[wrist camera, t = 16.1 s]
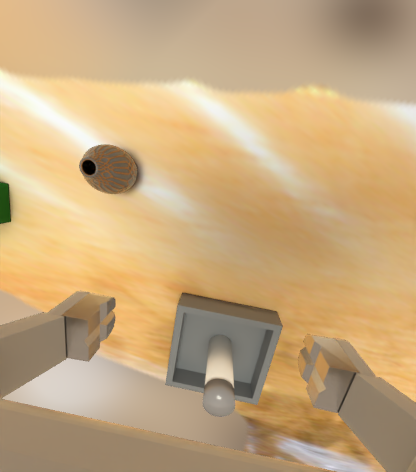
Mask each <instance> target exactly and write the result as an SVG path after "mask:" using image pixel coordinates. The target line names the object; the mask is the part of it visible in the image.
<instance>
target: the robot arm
mask: <svg viewBox="0 0 416 472" xmlns="http://www.w3.org/2000/svg"><path fill="white" fill-rule="evenodd" d="M114 307H115V299H114V297H109V296H104V295H100V294H95V293H90V292H85V291H77V292H76V293H74V294H73V295H71V296H70V297H69V298H67V299H66V300H64V301H63V302H62V303H60V304H59V305H57V306H56V307H55V308H53V309H52V310H50V311H49V312H48V313H44V312H42V313H39V314H36V315H33V316H30V317H26V318H23V319H20V320H16V321H14V322H10V323H7V324H3V325H0V472H336V471H331V470H327V469H322V468H318V467H313V466H308V465H304V464H299V463H294V462H290V461H285V460H280V459H276V458H271V457H267V456H262V455H257V454H253V453H248V452H243V451H239V450H233V449H229V448H225V447H220V446H216V445H211V444H206V443H202V442H197V441H193V440H188V439H184V438H179V437H174V436H170V435H165V434H160V433H156V432H152V431H147V430H142V429H138V428H133V427H128V426H124V425H119V424H115V423H110V422H106V421H101V420H96V419H92V418H87V417H83V416H78V415H74V414H69V413H64V412H60V411H55V410H50V409H46V408H41V407H37V406H32V405H28V404H23V403H18V402H13V401H9V400H4V399H2V398H3V397H4V396H6V395H8V394H9V393H11V392H13V391H14V390H16V389H17V388H19V387H21V386H22V385H24V384H26V383H27V382H29V381H31V380H32V379H34V378H36V377H37V376H39V375H41V374H42V373H44V372H46V371H47V370H49V369H51V368H52V367H54V366H56V365H57V364H59V363H61V362H62V361H64V360H66V358H71V359H77V360H83V361H89V360H90V359H91V358H92V356H93V355H94V354H95V353H96V351H97V350H98V349H99V348H100V342H101V341H103V340H105V339H107V337H108V336H109V334H110V333H111V331H112V329H113V327H114V323H115V314H114V313H113V311H112V310H113V309H114ZM303 342H304V345H305V348H303V349H302V350H301V351H300V353H299V357H298V366H299V371H300V374H301V377H302V378H303V379H304V380H305V381H306V382H307V383H308V385H307V388H306V390H307V392H308V395H309V397H310V400H311V402H312V405H313V407H314V408H318V409H323V410H327V411H331V412H335V413H339V414H338V415H339V416H340V417H341V418H342V420H343V421H344V422H345V423H346V424H347V426H348V427H349V428H350V429H351V430H352V431H353V433H354V434H355V435H356V436H357V437H358V438H359V440H360V441H361V442H362V443H363V444H364V445H365V447H366V448H367V449H368V450H369V451H370V453H371V454H372V455H373V456H374V457H375V458H376V460H377V461H378V462H379V463H380V464H381V465H382V467H383V468H384V469H385V470H386V471H387V472H416V403H415V402H414V401H413V400H411V399H410V398H408V397H407V396H406V395H404V394H403V393H401V392H400V391H399V390H397V389H396V388H394V387H393V386H392V385H390V384H389V383H387V382H386V381H385V380H383V379H382V378H380V377H376V376H375V374H374V373H373V372H372V371H371V369H370V368H369V367H368V365H367V364H366V363H365V362H364V360H363V359H362V358H361V357H360V355H359V354H358V353H357V351H356V350H355V349H354V348H353V346H352V345H351V344H350V343H349V342H348V341H346V340H342V339H336V338H327V337H322V336H316V335H311V334H307V335H306V336H305V338H304V341H303Z"/></svg>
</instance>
